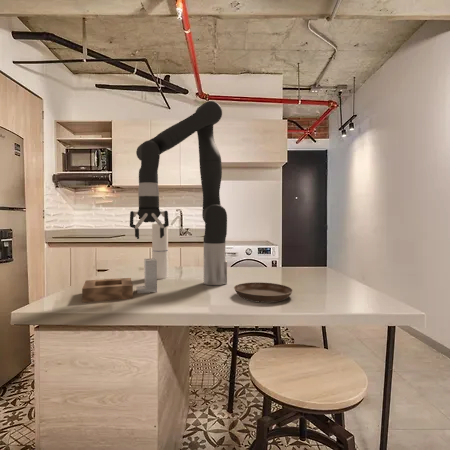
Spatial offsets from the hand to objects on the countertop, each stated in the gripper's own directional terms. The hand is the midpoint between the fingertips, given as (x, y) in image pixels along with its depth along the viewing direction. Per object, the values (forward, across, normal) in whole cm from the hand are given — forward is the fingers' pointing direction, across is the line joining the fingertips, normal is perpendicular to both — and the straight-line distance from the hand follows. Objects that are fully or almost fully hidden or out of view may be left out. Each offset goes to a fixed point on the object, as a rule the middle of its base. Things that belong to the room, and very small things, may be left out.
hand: (149, 238), depth 120 cm
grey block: (+20, +1, 0) cm, 20 cm away
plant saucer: (+21, -37, +20) cm, 47 cm away
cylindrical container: (+20, -6, -25) cm, 33 cm away
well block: (+20, +15, +2) cm, 25 cm away
